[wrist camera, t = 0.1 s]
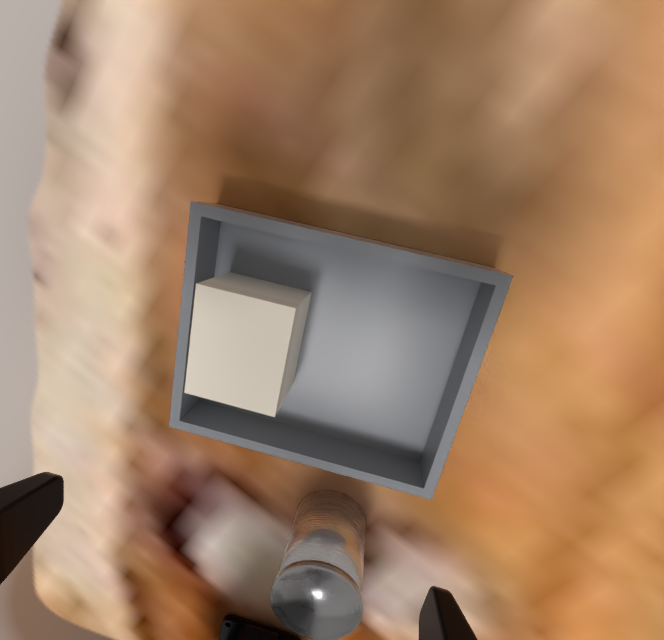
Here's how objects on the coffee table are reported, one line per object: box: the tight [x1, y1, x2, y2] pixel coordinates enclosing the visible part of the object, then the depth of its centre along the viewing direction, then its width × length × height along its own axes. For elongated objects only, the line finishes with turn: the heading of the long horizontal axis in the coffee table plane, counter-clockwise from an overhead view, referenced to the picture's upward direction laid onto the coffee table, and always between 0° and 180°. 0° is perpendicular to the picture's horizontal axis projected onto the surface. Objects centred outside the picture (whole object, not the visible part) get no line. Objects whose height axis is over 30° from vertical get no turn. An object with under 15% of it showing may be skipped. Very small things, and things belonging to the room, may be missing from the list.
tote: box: [169, 202, 513, 500], centre depth 21 cm, size 13×16×3 cm
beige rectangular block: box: [184, 272, 312, 417], centre depth 20 cm, size 6×5×4 cm
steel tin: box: [270, 491, 366, 640], centre depth 23 cm, size 5×5×6 cm
